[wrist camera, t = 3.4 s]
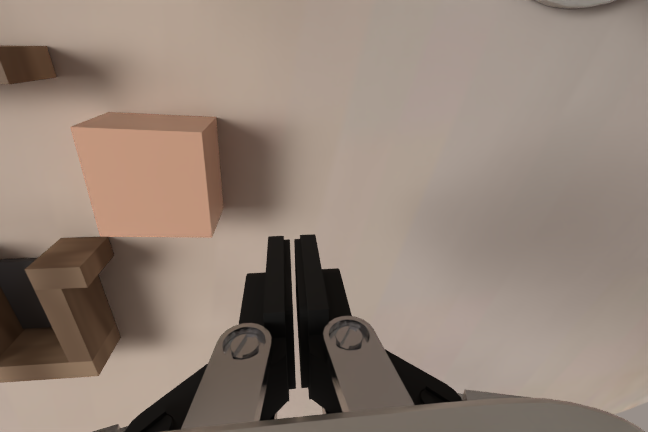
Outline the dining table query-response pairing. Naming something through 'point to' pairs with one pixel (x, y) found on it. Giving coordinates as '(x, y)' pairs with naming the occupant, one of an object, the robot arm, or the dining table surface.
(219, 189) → the block
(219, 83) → the dining table surface
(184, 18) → the dining table surface
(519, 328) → the dining table surface
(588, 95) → the dining table surface
